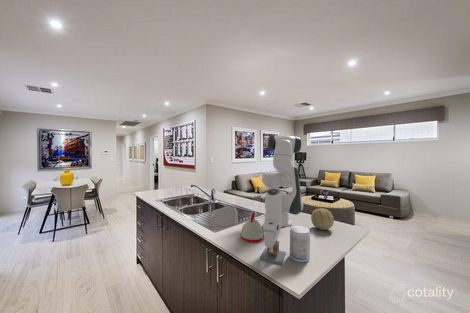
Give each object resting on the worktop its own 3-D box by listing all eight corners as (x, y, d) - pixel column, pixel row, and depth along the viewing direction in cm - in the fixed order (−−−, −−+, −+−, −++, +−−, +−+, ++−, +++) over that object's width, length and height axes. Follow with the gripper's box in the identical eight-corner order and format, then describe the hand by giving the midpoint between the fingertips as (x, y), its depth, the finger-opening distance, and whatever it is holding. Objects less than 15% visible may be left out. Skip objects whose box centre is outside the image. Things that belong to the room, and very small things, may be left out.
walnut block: (269, 248, 105) (269, 239, 105) (278, 250, 103) (279, 241, 103) (267, 253, 101) (267, 243, 101) (276, 255, 99) (277, 245, 99)
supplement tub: (295, 251, 108) (295, 224, 108) (312, 257, 102) (313, 229, 101) (286, 258, 101) (286, 229, 101) (304, 265, 95) (305, 234, 94)
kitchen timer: (264, 234, 130) (265, 211, 130) (261, 243, 117) (262, 218, 117) (243, 232, 134) (244, 209, 134) (238, 240, 120) (239, 216, 120)
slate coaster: (265, 250, 109) (265, 247, 109) (285, 254, 105) (285, 251, 105) (259, 259, 99) (259, 257, 99) (281, 264, 95) (281, 262, 95)
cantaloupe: (331, 235, 130) (331, 212, 130) (308, 229, 139) (308, 208, 139) (335, 228, 142) (336, 207, 142) (314, 223, 151) (314, 204, 151)
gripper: (272, 215, 113) (271, 239, 113) (262, 227, 94) (261, 256, 94) (283, 216, 110) (283, 241, 110) (275, 229, 91) (275, 259, 92)
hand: (273, 248), depth 102 cm, fingers closed on walnut block, 5 cm apart
